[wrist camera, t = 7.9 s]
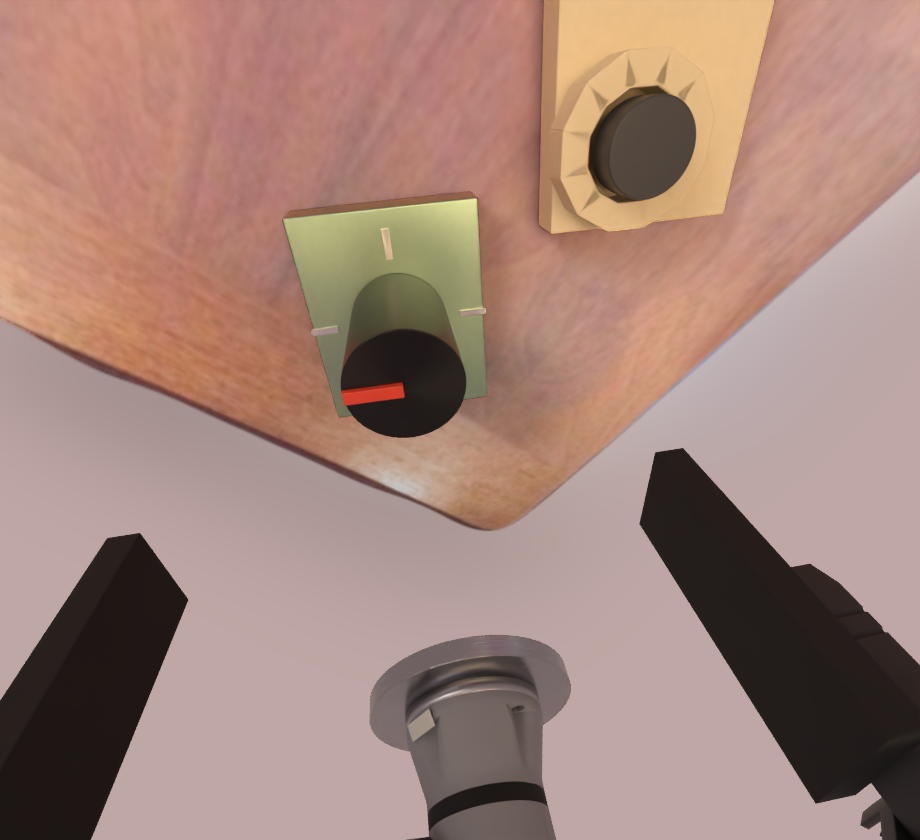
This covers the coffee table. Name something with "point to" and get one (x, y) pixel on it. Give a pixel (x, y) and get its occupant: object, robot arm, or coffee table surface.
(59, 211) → the coffee table surface
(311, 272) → the dial panel
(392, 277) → the knob
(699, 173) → the button box
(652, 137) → the button
